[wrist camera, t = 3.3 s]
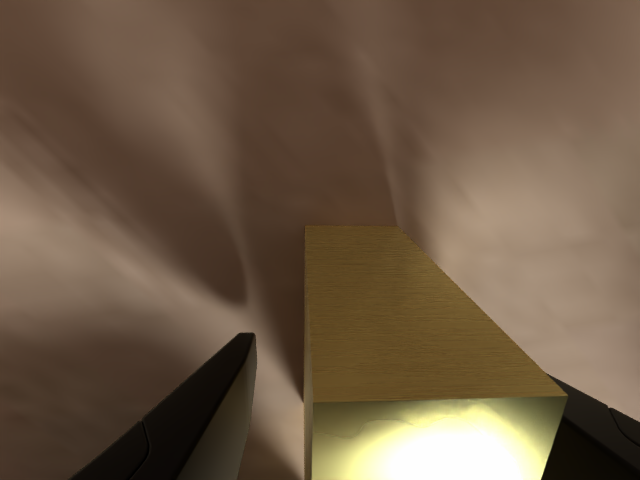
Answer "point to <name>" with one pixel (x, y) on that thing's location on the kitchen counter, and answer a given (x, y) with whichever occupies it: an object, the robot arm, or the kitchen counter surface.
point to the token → (412, 370)
